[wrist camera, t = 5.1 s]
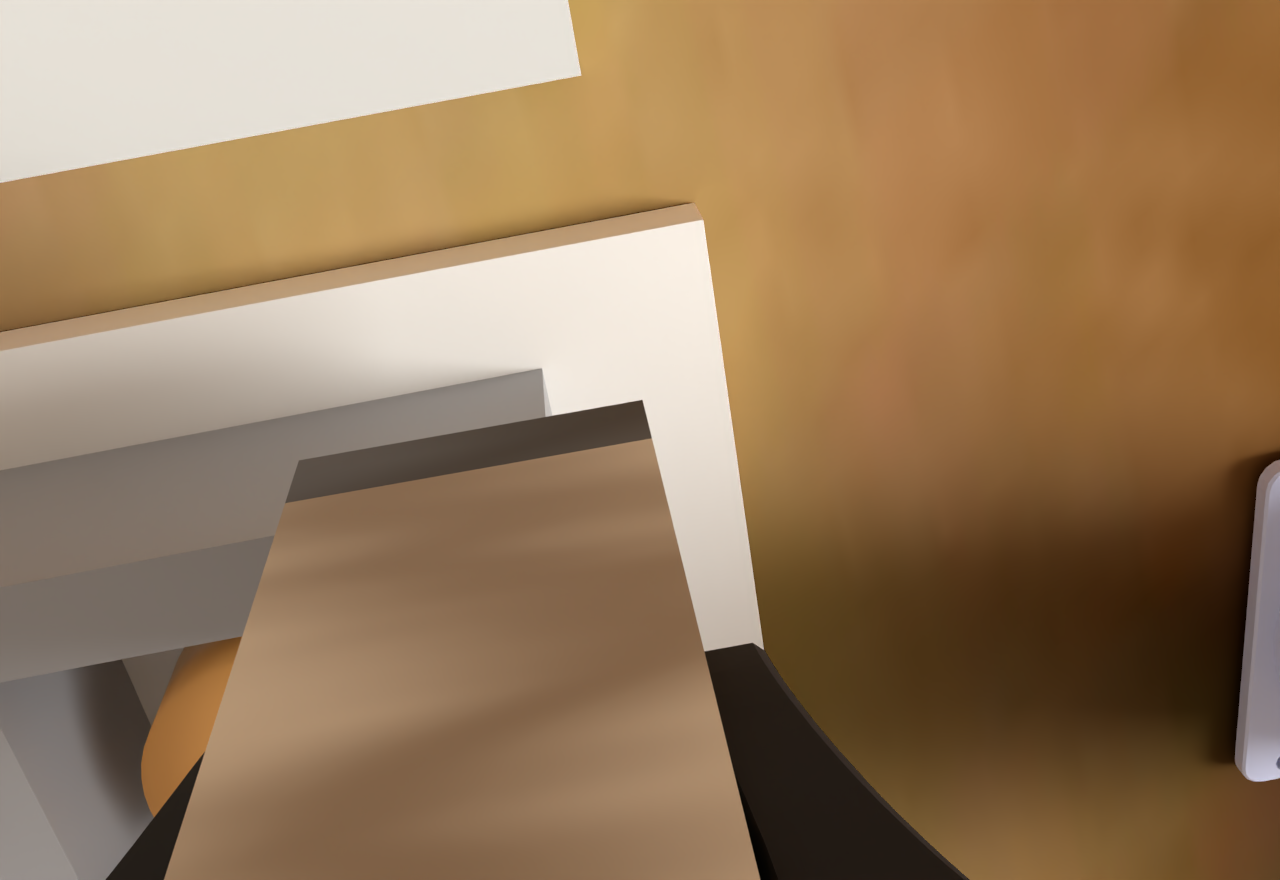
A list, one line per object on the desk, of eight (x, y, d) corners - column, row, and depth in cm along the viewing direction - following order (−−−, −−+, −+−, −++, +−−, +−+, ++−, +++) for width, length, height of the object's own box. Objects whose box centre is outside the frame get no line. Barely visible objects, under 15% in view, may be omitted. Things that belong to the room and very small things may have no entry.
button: (425, 560, 20) (418, 626, 19) (490, 785, 23) (488, 862, 21) (128, 616, 20) (93, 689, 19) (222, 836, 23) (199, 919, 21)
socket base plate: (694, 202, 20) (747, 307, 16) (783, 821, 27) (838, 1019, 22) (-262, 381, 20) (-481, 538, 16) (57, 962, 26) (-33, 1191, 22)
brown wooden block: (641, 400, 14) (826, 1149, 6) (686, 674, 16) (873, 1530, 8) (298, 460, 14) (29, 1303, 6) (382, 729, 16) (260, 1650, 8)
